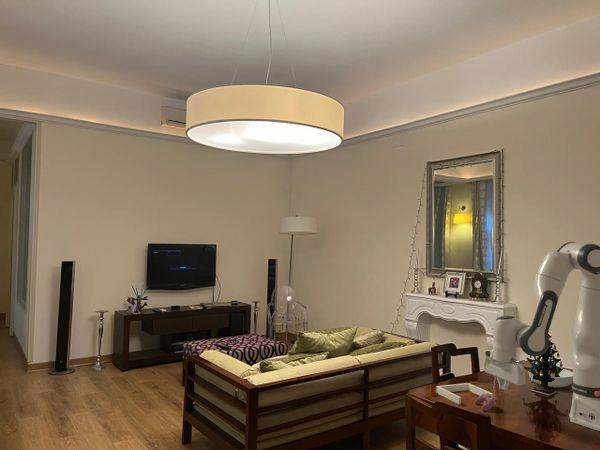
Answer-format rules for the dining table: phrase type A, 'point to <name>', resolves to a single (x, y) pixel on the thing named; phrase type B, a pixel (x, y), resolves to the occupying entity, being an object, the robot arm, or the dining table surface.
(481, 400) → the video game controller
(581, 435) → the dining table surface
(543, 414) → the dining table surface
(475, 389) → the cream bay
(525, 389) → the dining table surface
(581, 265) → the robot arm
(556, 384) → the serving bowl
